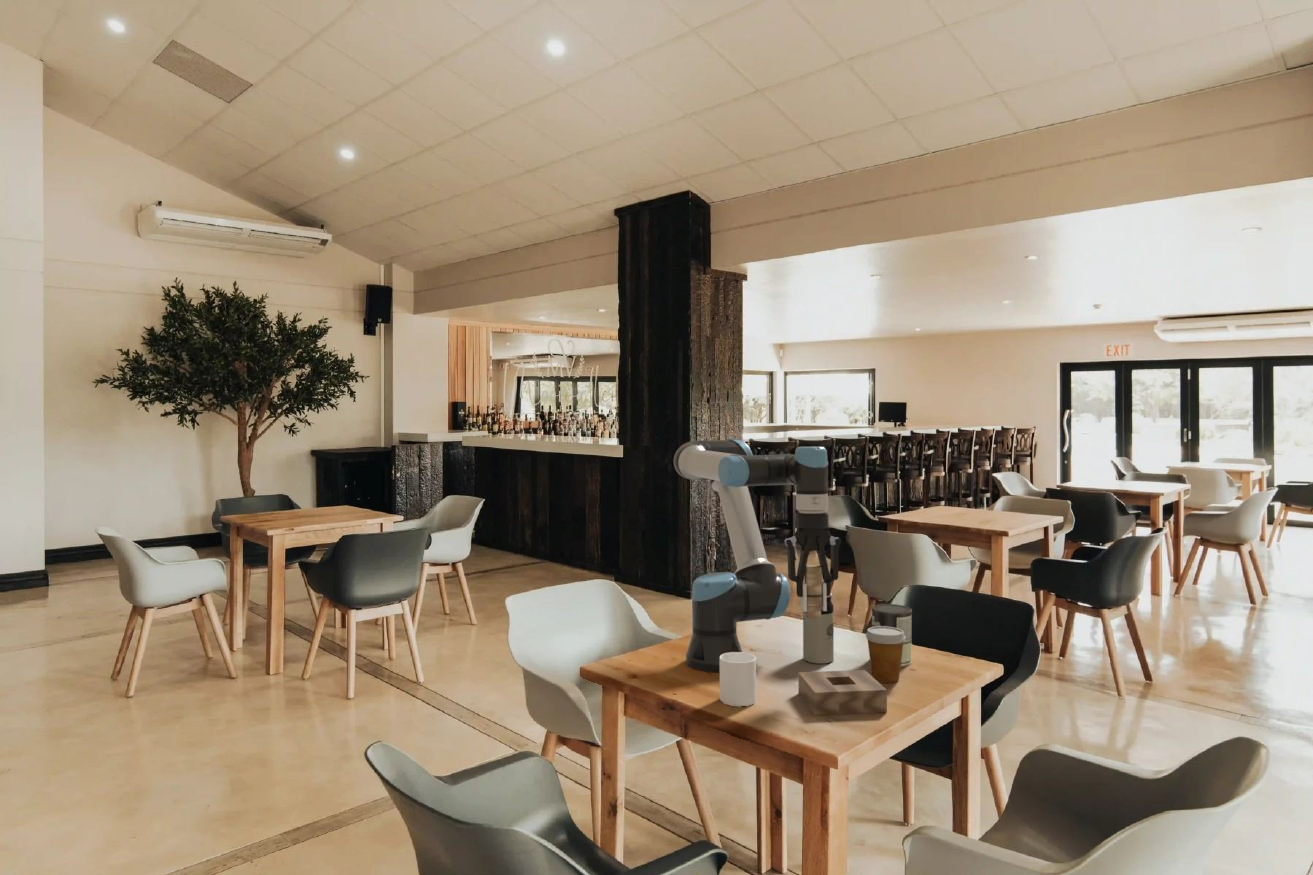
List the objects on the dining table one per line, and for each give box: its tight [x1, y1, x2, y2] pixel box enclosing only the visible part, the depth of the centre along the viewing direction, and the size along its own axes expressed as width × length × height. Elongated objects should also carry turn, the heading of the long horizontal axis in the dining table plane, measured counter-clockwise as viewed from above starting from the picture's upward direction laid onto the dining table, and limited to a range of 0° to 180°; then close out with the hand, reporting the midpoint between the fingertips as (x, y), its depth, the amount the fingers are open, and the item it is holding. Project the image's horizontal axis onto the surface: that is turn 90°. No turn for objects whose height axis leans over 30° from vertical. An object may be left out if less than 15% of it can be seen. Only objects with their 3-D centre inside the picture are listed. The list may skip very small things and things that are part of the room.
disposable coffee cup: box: [865, 626, 906, 684], centre depth 197 cm, size 10×10×12 cm
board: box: [797, 669, 888, 716], centre depth 180 cm, size 16×14×5 cm
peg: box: [804, 564, 823, 619], centre depth 189 cm, size 4×4×12 cm
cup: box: [719, 651, 757, 707], centre depth 184 cm, size 8×12×10 cm
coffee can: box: [871, 603, 913, 668], centre depth 211 cm, size 10×10×14 cm
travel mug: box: [802, 591, 835, 665], centre depth 213 cm, size 8×8×18 cm
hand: (813, 609), depth 189 cm, fingers closed on peg, 4 cm apart
